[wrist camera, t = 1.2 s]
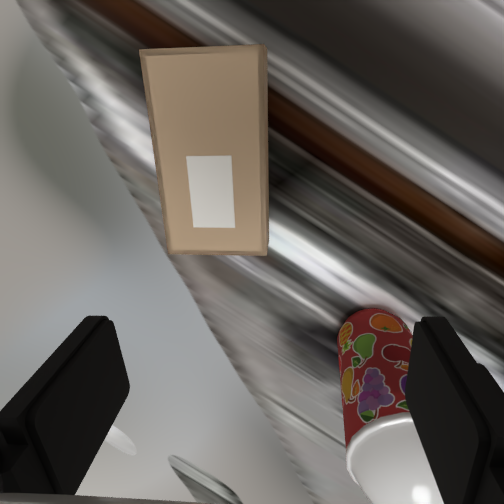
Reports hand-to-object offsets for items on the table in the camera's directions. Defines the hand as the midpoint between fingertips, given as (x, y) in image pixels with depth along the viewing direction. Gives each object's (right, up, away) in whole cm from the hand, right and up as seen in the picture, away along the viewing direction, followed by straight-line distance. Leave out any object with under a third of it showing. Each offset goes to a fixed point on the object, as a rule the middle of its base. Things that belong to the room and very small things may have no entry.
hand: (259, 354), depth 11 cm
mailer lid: (-3, +10, +15) cm, 19 cm away
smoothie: (+12, -5, +25) cm, 28 cm away
